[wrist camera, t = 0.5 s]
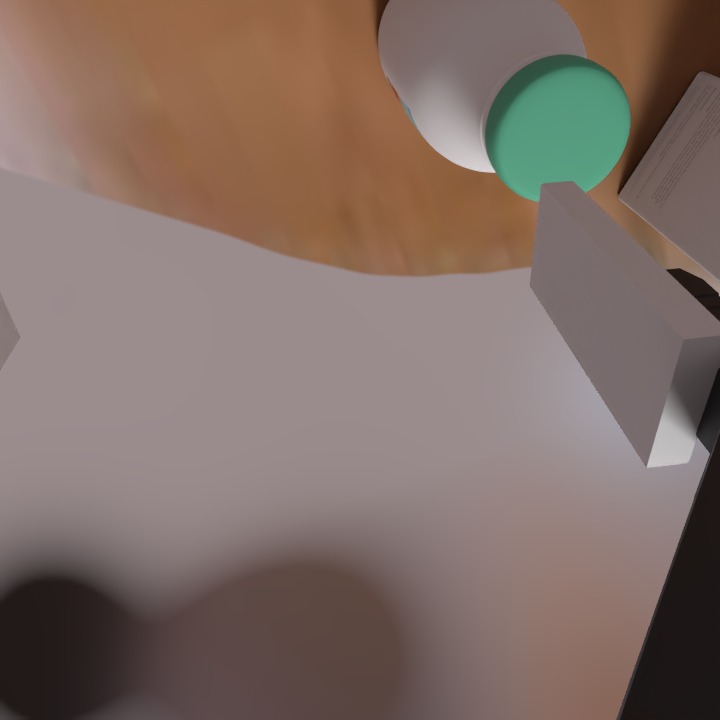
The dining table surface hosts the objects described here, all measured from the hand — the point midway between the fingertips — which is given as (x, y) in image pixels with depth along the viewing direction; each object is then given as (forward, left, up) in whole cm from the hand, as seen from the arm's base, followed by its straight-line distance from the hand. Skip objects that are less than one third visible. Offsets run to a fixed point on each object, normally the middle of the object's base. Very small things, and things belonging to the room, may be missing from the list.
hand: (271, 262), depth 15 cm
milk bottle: (0, +10, -27) cm, 28 cm away
